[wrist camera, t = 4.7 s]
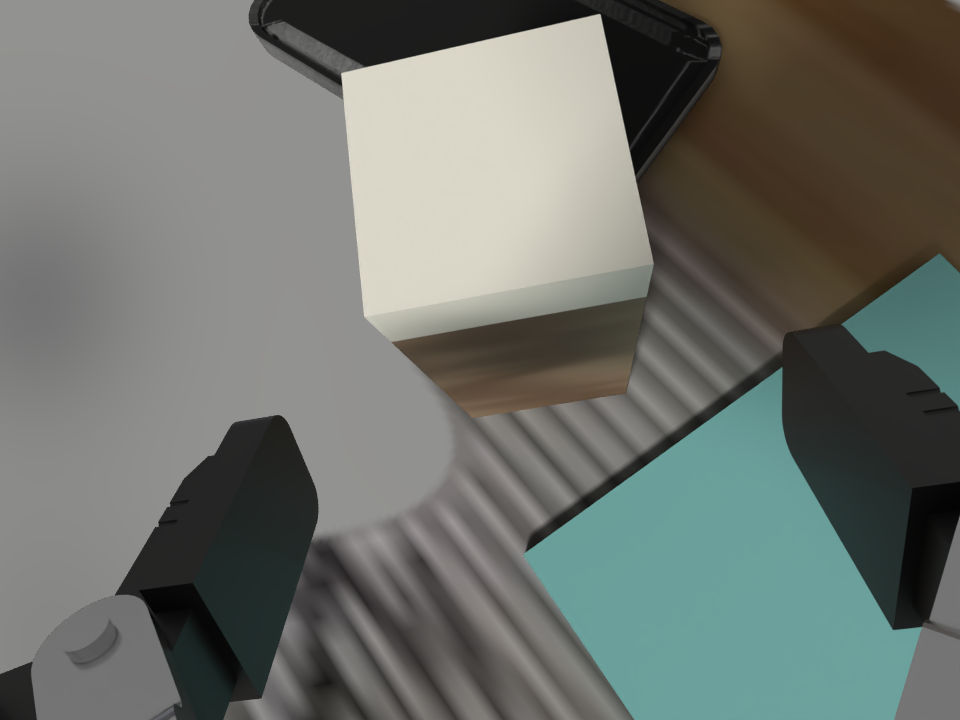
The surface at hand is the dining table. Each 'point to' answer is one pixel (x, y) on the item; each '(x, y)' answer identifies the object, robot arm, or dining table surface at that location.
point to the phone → (499, 12)
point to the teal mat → (745, 558)
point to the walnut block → (501, 217)
